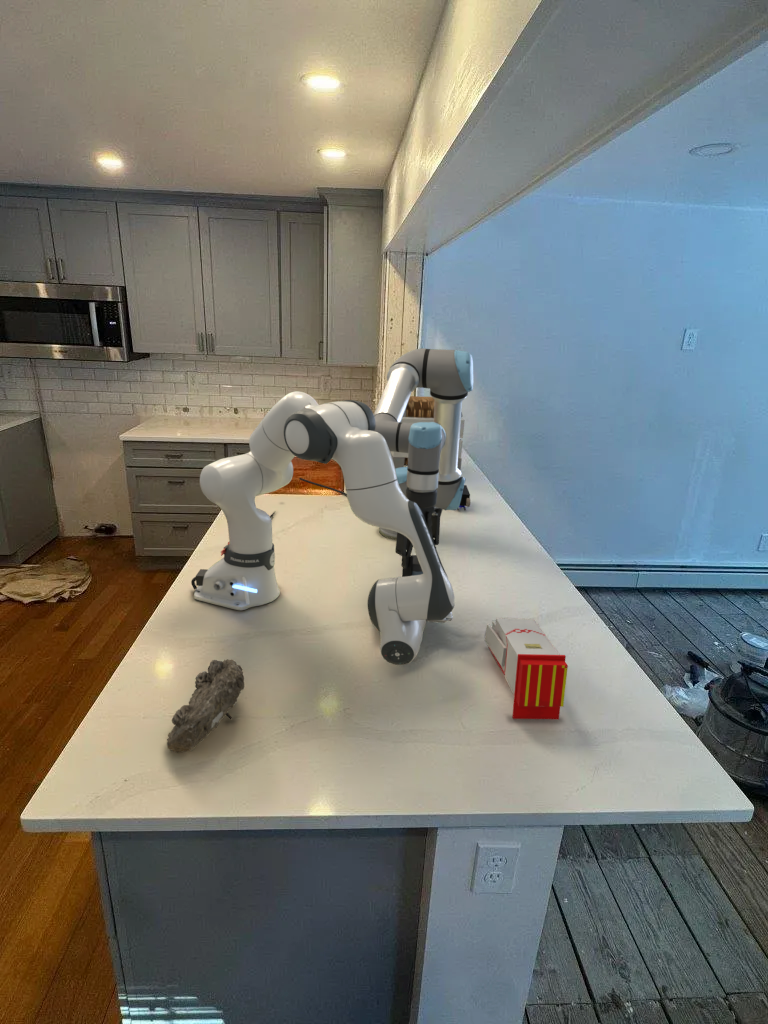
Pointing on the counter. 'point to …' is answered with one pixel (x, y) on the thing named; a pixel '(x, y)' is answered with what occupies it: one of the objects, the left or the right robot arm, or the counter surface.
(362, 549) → the counter surface
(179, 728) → the fossil
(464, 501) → the figurine character
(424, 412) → the white slatted box
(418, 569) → the lid
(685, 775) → the counter surface
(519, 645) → the toy
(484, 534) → the counter surface
